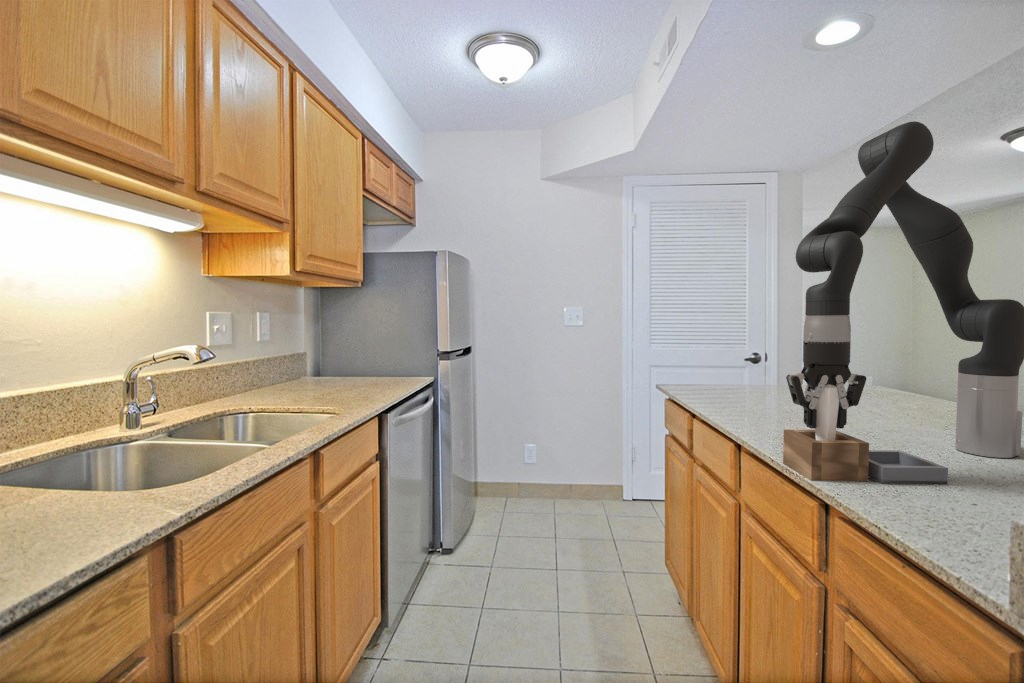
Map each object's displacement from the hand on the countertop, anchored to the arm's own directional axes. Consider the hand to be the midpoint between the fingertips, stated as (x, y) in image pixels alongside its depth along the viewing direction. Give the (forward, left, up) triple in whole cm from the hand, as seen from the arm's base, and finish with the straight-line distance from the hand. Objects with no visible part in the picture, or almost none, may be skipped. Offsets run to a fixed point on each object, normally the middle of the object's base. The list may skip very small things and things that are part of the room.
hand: (824, 427), depth 90 cm
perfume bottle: (0, 0, -5) cm, 5 cm away
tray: (-12, +1, -9) cm, 15 cm away
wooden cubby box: (0, 0, -9) cm, 9 cm away
